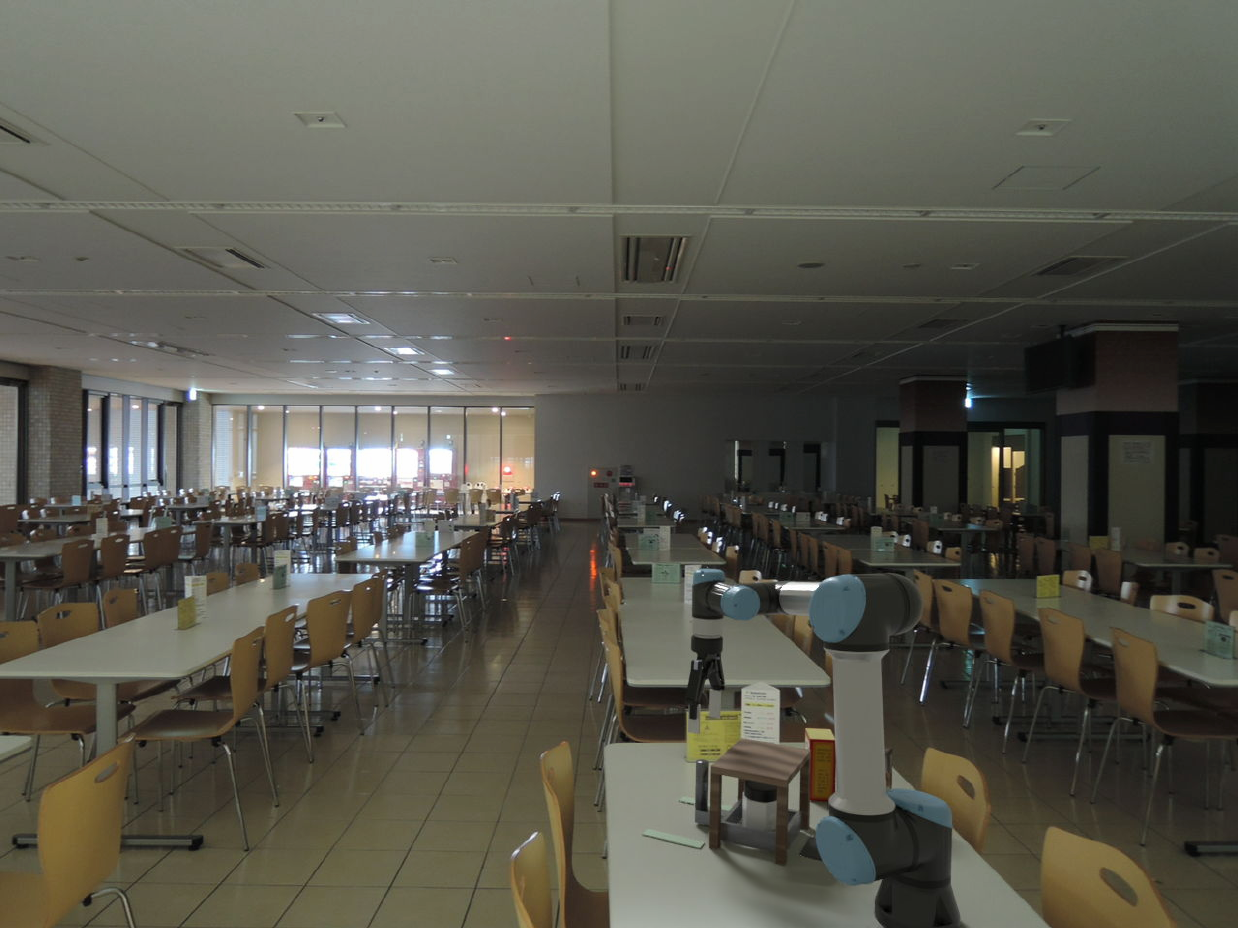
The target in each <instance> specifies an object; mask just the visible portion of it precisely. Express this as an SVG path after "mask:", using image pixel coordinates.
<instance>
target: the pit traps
mask: <svg viewBox="0 0 1238 928" xmlns="http://www.w3.org/2000/svg"><path fill="white" fill-rule="evenodd" d="M799 855H801V856H800V857H802V856H804V857H803V858H807V857H808V858H807V859H811V858H812V860H817V861H819V862H820V861H821V862H823V860H822V858H821V856H820V854H819V851H818V848H817V843H816V837H813V836H809V837H808V838H807V841H806V842H805V844H804V845H803V847H802V849H801V850H800V852H799V853H798V856H799Z"/></svg>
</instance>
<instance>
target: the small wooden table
mask: <svg viewBox="0 0 1238 928" xmlns="http://www.w3.org/2000/svg"><path fill="white" fill-rule="evenodd" d="M798 773H799V802H798V803H799V805H798V806H799V808H798V809H799V810H798V811H802V829H801V830H807V831H808V830H809V828H810V823H811V822H810V820H811V817H810V816H811V815H810V814H811V813H810V812H811V801H810V774H811V750H808V749H805V748H801V747H796V746H790V745H783V744H778V743H772V742H766V741H759V740H754V739H748V738H744V737H742V738H740V739H739V740H738V741H737V742H736V743H735V744H733V745H732V746H731V747H730V748H729V749H728V750H726V751H725V752H724V753H723V754H722V755H721V756H720V757H719V758H718V759H717V760H716V761H715V762H713V763H712V764H711V765H710V772H709V774H710V778H709V779H710V780H709V787H710V788H709V802H710V820H709V826H708V827H709V829H708V848H709V849H711V850H719V849H720V848H721V847H722V846H721V844H722V843H721V842H722V841H721V804H722V795H723V794H722V792H723V791H722V790H723V788H722V787H723V776H725V777H730V778H735V779H737V782H738V783H737V801H738V800H739V799H743V792H744V782H745V781H746V780H750V781H755V782H760V783H766V784H771V785H776V786H777V812H776V853H775V862H774V863H775V864H776V865H781V866H786V865H787V863H788V850H787V846H788V809H789V797H790V796H789V794H790V793H789V791H790V789H789V788H790V784H791V782H792V781H793V780H794V779H795V777H796V776H797V774H798Z"/></svg>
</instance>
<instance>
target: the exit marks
mask: <svg viewBox="0 0 1238 928" xmlns="http://www.w3.org/2000/svg"><path fill="white" fill-rule="evenodd" d="M679 801H681V802H680V803H683V802H687V803H686V804H688V803H691V804H690V805H693V804H695V797H689V796H684V795H683V796H682V797H681V798H680V799H679V800H678V802H679ZM708 807H710V800H708ZM732 807H733V806H731V805H727V804H722V803H721V810H725V811H729V810H730V809H731V808H732ZM641 835H642V836H643V837H647V838H653V839H657V840H660V841H664V842H665V841H666V842H668V843H673V844H678V845H681V846H686V847H690V848H694V849H698V850H701V849H702V848H703V846H705V844H706V842H705V841H701V840H696V839H692V838H688V837H684V836H681V835H675V834H671V833H666V832H663V831H658V830H653V829H649V828H647V829H646V830H645V831H644V832H643V833H641Z"/></svg>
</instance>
